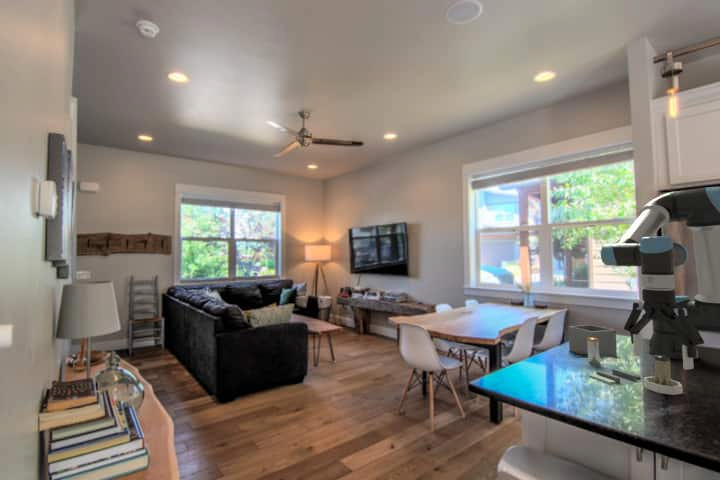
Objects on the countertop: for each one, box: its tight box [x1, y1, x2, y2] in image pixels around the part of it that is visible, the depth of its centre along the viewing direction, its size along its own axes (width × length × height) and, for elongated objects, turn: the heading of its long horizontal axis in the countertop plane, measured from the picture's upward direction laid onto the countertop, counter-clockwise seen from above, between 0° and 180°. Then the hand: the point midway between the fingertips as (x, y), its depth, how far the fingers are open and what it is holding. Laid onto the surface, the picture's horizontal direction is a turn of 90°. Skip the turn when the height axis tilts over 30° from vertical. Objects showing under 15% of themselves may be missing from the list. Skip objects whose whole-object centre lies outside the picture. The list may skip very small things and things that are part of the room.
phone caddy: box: [568, 324, 618, 357], centre depth 149 cm, size 12×12×10 cm
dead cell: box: [653, 354, 672, 386], centre depth 106 cm, size 4×4×10 cm
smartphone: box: [574, 351, 588, 357], centre depth 149 cm, size 8×15×1 cm, turn 129°
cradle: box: [585, 368, 644, 387], centre depth 115 cm, size 14×10×3 cm
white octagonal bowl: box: [643, 375, 684, 396], centre depth 105 cm, size 8×8×4 cm
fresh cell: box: [587, 337, 601, 365], centre depth 132 cm, size 4×4×10 cm
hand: (661, 361), depth 106 cm, fingers open, 13 cm apart
